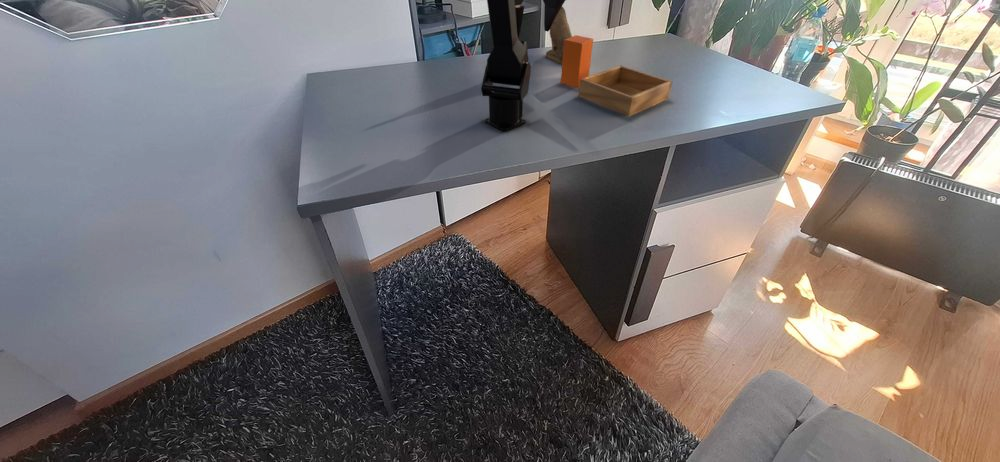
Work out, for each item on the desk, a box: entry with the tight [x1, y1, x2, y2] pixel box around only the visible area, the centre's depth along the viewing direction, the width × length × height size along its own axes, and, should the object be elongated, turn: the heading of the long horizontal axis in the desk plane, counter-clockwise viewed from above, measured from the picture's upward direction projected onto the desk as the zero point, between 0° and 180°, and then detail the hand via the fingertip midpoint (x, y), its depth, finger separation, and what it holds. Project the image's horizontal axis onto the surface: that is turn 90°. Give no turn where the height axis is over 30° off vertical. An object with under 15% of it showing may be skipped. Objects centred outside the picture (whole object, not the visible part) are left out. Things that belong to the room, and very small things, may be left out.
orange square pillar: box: [560, 34, 594, 89], centre depth 101 cm, size 5×5×11 cm
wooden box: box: [578, 64, 673, 117], centre depth 95 cm, size 15×15×5 cm
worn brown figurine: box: [545, 6, 573, 65], centre depth 116 cm, size 12×6×18 cm, turn 28°
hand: (531, 34), depth 94 cm, fingers open, 9 cm apart
